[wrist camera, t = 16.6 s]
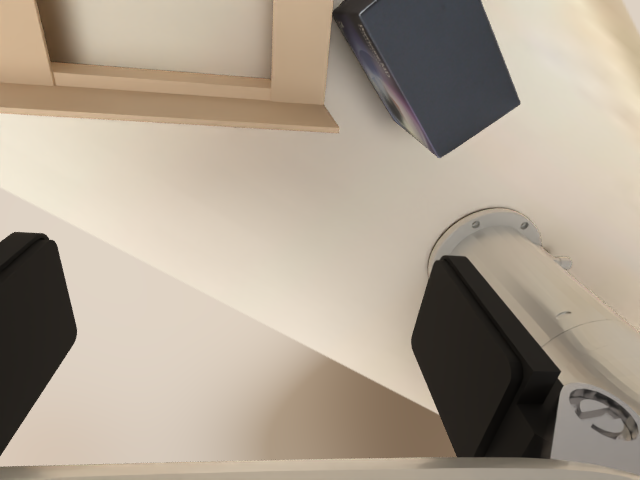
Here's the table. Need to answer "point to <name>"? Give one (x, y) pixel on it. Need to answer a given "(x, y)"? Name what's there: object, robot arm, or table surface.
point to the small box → (431, 65)
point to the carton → (173, 79)
